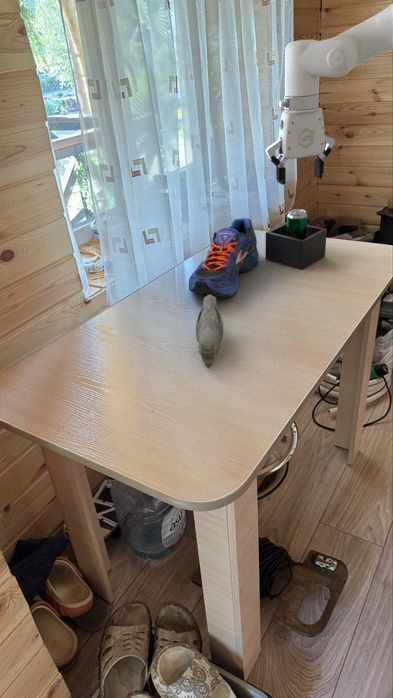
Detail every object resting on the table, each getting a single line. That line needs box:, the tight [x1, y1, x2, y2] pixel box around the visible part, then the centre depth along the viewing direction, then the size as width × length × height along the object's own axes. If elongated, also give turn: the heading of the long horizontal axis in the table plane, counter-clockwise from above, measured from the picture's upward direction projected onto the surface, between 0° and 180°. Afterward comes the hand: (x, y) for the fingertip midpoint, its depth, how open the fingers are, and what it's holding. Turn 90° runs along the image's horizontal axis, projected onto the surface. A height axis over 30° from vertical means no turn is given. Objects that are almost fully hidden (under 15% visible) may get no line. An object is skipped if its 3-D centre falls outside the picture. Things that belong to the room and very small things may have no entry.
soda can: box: [286, 208, 308, 240], centre depth 133 cm, size 5×5×12 cm
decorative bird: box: [195, 294, 224, 369], centre depth 100 cm, size 5×16×8 cm, turn 176°
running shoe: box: [188, 217, 260, 298], centre depth 125 cm, size 12×32×13 cm, turn 159°
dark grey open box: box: [265, 222, 328, 271], centre depth 134 cm, size 12×11×8 cm
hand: (299, 180), depth 125 cm, fingers open, 9 cm apart
